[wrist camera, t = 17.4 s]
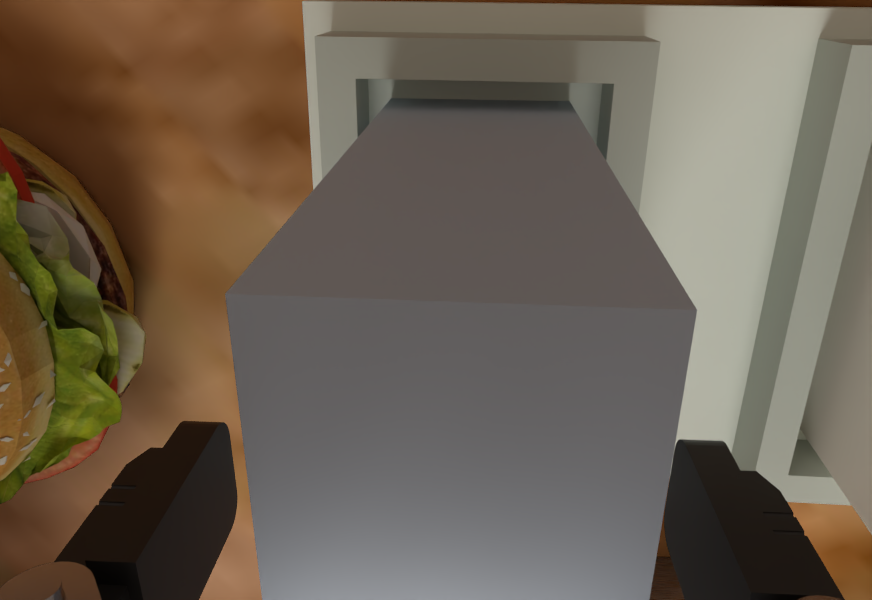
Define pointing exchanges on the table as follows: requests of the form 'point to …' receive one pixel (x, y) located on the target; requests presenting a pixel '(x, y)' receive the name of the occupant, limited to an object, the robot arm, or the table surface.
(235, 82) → the table surface
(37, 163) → the food
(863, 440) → the block
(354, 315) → the block
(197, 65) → the table surface
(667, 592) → the button housing
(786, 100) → the grey holder tray
